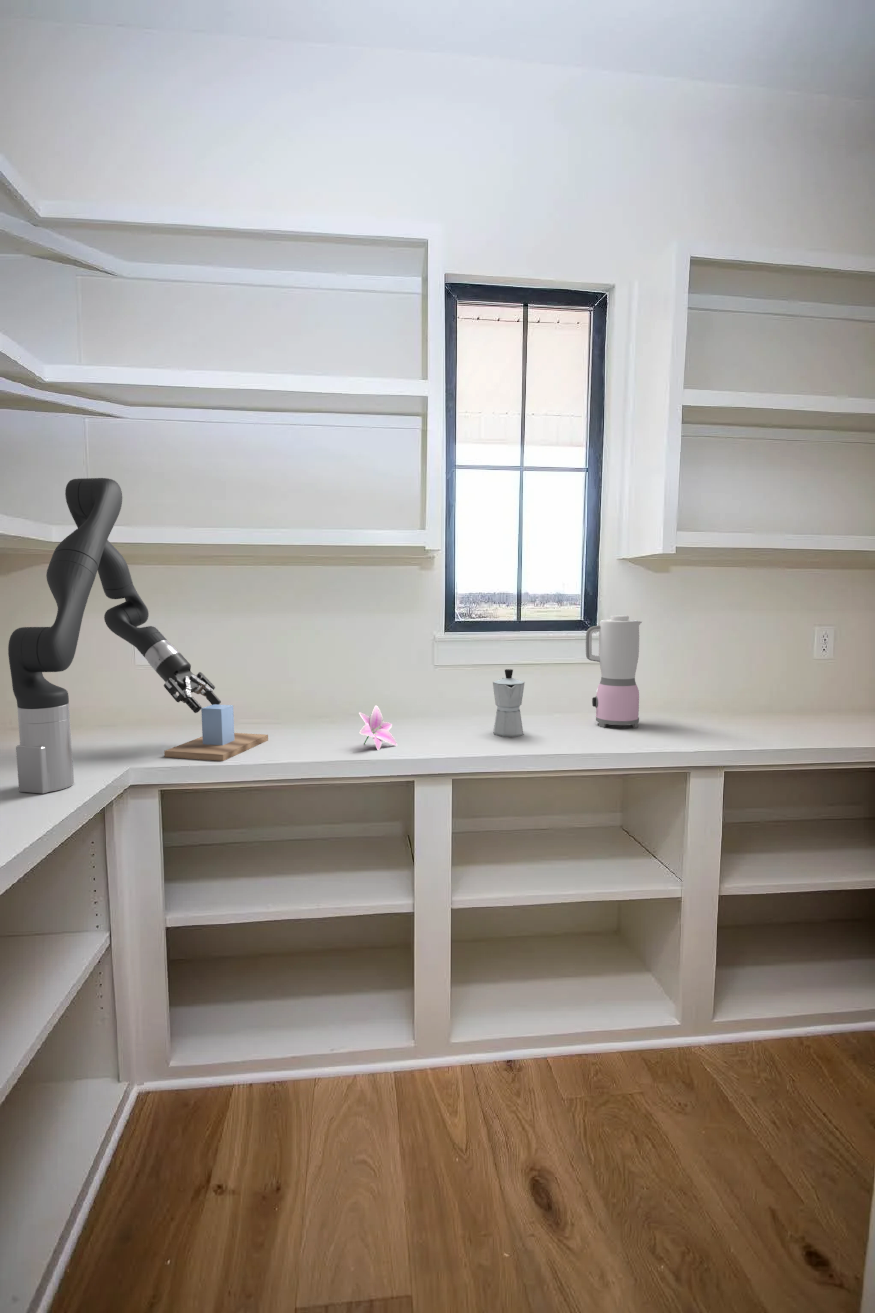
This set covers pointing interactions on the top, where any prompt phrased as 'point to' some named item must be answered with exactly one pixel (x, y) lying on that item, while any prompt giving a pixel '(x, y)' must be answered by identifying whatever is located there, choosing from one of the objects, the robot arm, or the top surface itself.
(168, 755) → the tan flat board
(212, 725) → the light blue block
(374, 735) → the lily
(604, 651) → the blender
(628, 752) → the top surface
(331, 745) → the top surface
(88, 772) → the top surface
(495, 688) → the coffee maker
